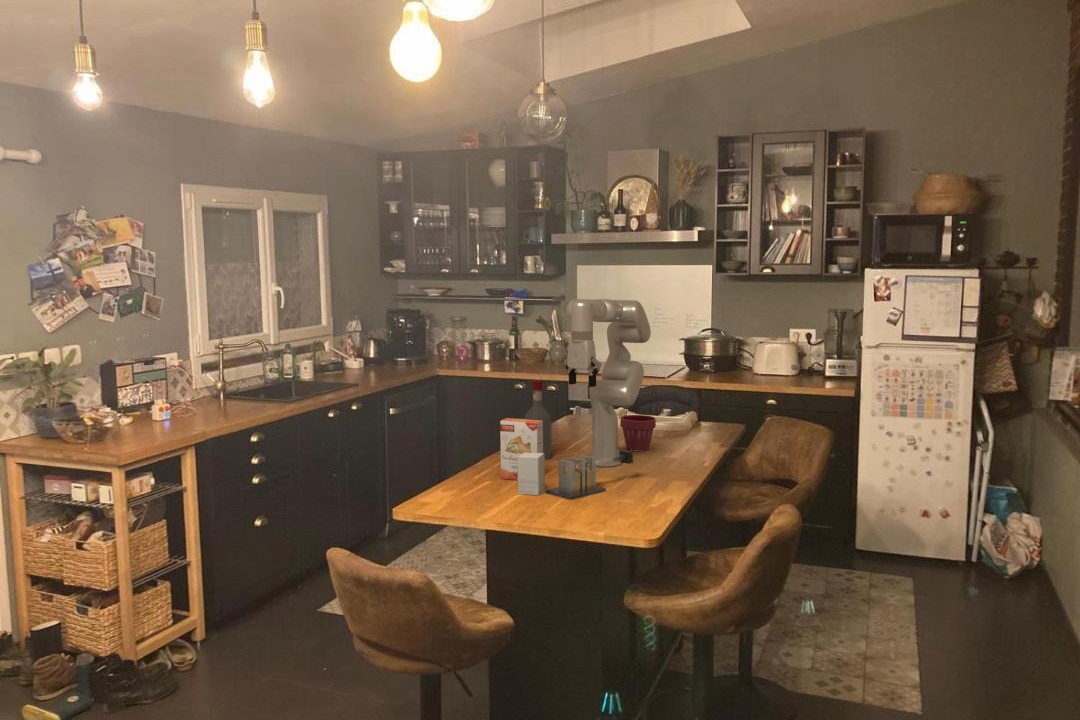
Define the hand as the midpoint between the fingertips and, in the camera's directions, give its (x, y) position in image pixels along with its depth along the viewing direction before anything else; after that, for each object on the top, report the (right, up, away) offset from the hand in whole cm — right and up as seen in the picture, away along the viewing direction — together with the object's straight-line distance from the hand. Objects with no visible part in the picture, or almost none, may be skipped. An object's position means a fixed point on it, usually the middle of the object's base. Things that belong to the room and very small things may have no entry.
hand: (582, 385), depth 311 cm
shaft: (+8, -27, -9) cm, 30 cm away
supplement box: (-18, -35, -18) cm, 43 cm away
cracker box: (-21, -33, 0) cm, 39 cm away
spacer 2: (-1, -33, -16) cm, 37 cm away
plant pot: (+25, -27, +49) cm, 61 cm away
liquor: (-15, -29, +34) cm, 47 cm away
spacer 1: (-5, -34, -20) cm, 39 cm away
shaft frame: (-3, -35, -19) cm, 40 cm away
